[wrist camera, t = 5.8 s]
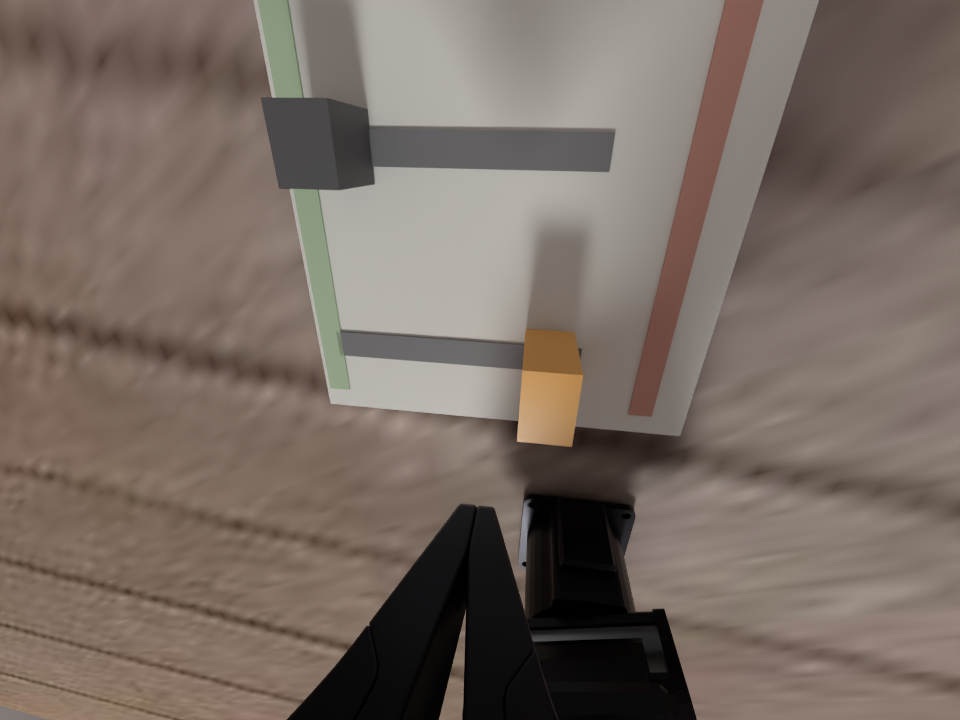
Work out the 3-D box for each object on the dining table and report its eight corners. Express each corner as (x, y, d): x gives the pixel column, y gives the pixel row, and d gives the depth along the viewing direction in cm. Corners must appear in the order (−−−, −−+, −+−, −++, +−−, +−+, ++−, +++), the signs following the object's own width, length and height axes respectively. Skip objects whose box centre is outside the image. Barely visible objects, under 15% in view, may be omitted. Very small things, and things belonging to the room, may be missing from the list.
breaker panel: (667, 411, 20) (704, 483, 15) (347, 383, 22) (298, 441, 17) (861, -260, 10) (1111, -581, 6) (251, -206, 12) (84, -417, 8)
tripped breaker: (565, 394, 17) (571, 446, 14) (520, 390, 18) (516, 441, 14) (574, 332, 16) (583, 375, 13) (525, 328, 16) (522, 370, 13)
